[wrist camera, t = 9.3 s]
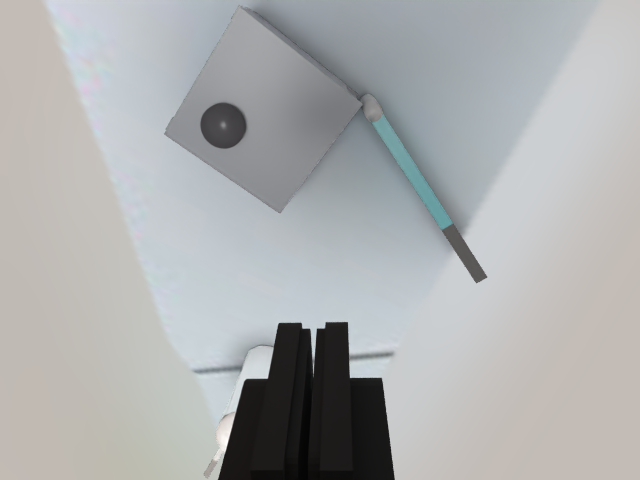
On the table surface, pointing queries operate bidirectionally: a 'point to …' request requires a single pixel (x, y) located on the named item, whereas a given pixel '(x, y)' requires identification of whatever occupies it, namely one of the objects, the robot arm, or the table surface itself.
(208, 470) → the milkshake
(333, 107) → the camera case
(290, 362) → the robot arm
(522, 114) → the table surface
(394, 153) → the door
